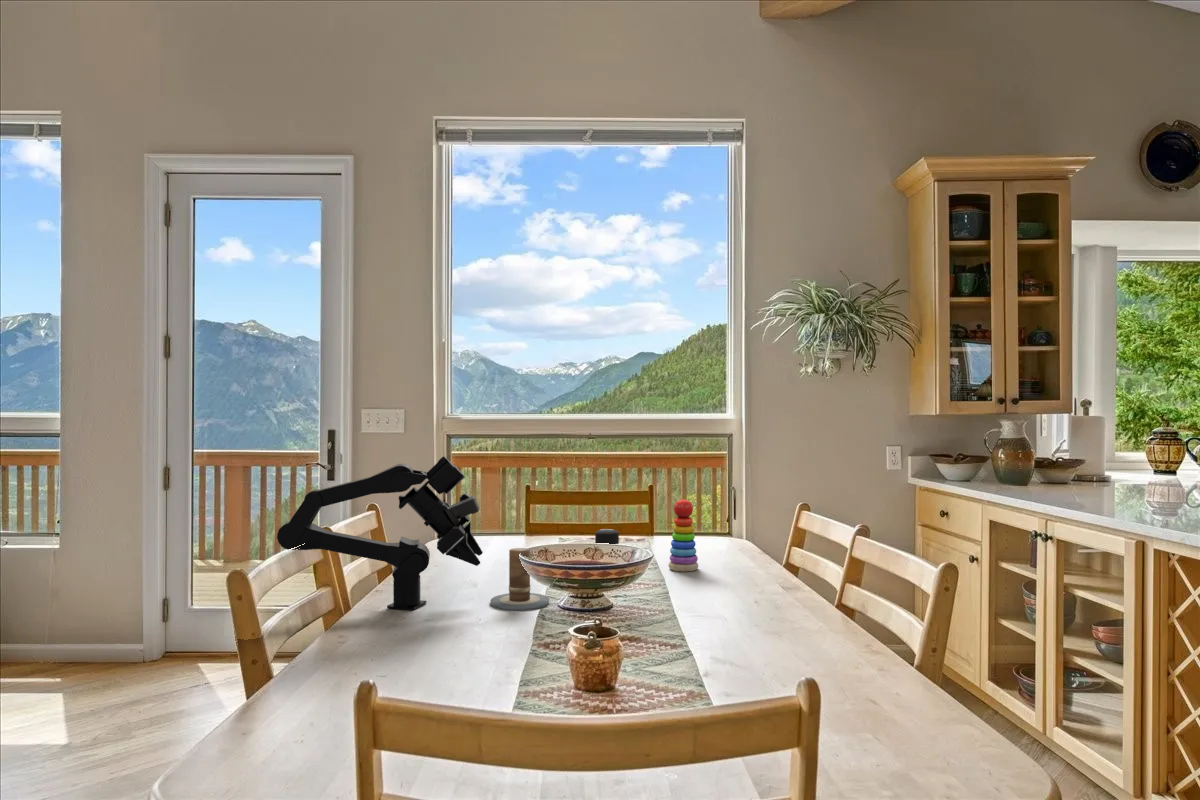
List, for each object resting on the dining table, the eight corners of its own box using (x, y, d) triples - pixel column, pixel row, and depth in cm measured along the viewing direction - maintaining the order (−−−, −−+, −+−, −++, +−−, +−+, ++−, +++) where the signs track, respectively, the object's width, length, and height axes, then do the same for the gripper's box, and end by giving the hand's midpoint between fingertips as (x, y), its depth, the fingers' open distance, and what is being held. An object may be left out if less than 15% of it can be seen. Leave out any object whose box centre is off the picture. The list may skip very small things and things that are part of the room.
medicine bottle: (620, 580, 204) (620, 532, 204) (592, 579, 204) (592, 532, 204) (620, 573, 211) (620, 528, 211) (593, 573, 211) (593, 527, 211)
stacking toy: (663, 567, 219) (663, 498, 219) (688, 565, 222) (688, 496, 222) (677, 573, 212) (678, 501, 211) (704, 570, 215) (704, 500, 215)
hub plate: (537, 612, 173) (537, 608, 173) (481, 608, 176) (481, 604, 176) (556, 598, 185) (556, 594, 185) (503, 594, 189) (503, 590, 189)
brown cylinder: (515, 602, 177) (515, 552, 177) (504, 598, 181) (505, 549, 181) (534, 599, 180) (534, 550, 180) (523, 595, 184) (523, 547, 184)
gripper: (454, 490, 170) (505, 543, 171) (461, 478, 188) (507, 525, 190) (415, 527, 170) (466, 580, 171) (426, 510, 188) (472, 558, 190)
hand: (480, 559), depth 180 cm, fingers open, 9 cm apart
